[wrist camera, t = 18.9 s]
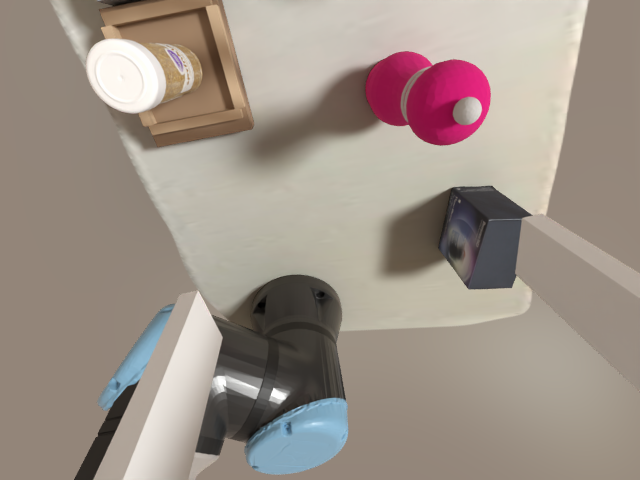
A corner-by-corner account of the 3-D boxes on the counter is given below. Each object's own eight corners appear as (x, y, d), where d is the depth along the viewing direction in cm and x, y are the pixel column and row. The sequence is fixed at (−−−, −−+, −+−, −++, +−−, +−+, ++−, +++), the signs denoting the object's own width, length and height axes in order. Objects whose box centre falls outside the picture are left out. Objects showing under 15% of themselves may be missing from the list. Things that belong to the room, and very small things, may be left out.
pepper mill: (369, 127, 40) (427, 181, 23) (353, 65, 36) (409, 74, 19) (425, 106, 39) (529, 146, 22) (414, 41, 36) (529, 29, 18)
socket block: (254, 124, 39) (250, 131, 35) (166, 141, 39) (153, 149, 35) (219, -8, 32) (210, -16, 28) (114, 13, 32) (91, 7, 29)
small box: (448, 186, 45) (488, 218, 36) (492, 184, 45) (542, 216, 36) (435, 249, 50) (466, 291, 41) (475, 247, 51) (514, 289, 42)
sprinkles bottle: (212, 70, 33) (170, 80, 21) (186, 103, 34) (133, 128, 23) (174, 32, 31) (105, 19, 19) (147, 68, 32) (69, 76, 21)
